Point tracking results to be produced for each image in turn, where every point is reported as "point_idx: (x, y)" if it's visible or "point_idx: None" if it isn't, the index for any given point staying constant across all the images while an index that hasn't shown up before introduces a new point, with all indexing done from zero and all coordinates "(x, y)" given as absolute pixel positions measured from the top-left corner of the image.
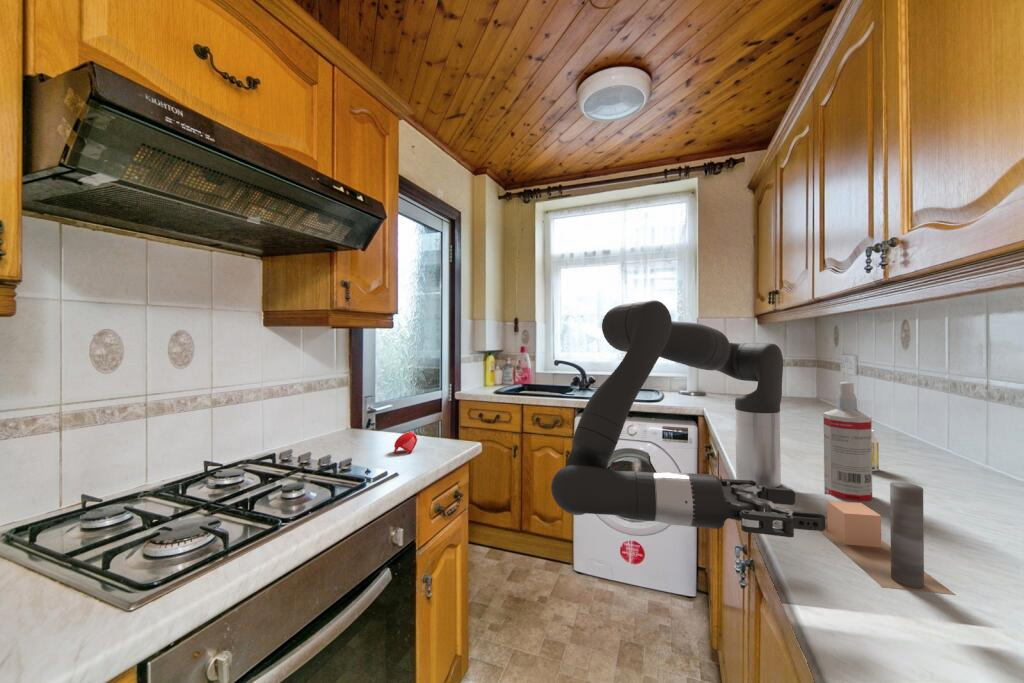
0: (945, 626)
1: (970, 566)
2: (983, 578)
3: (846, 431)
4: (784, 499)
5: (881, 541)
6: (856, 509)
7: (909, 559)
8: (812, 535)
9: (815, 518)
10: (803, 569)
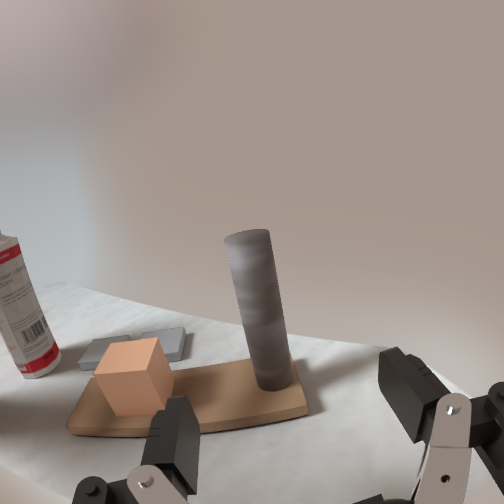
0: (346, 375)
1: (192, 335)
2: (216, 334)
3: (6, 266)
4: (193, 439)
5: None
6: (132, 353)
7: (287, 346)
8: (112, 442)
9: (419, 363)
10: (248, 499)
